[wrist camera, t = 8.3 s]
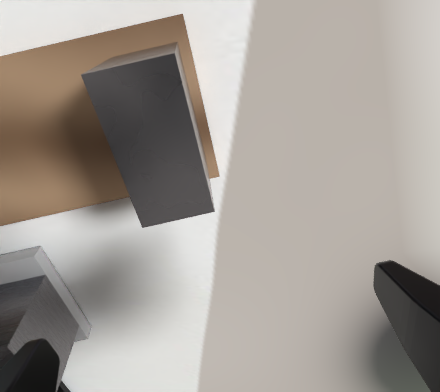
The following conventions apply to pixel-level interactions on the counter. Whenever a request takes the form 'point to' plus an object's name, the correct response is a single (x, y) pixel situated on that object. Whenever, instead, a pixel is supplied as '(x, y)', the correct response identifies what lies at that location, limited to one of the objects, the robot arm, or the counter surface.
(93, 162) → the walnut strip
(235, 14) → the counter surface
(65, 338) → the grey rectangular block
